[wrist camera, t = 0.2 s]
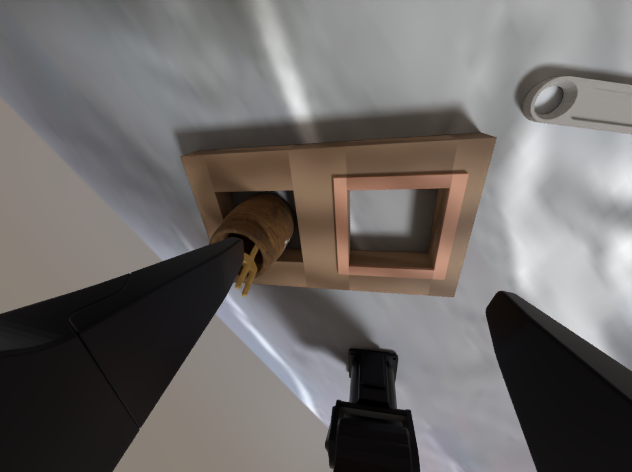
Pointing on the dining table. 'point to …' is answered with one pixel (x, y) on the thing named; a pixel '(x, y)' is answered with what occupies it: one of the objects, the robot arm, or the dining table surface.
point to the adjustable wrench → (585, 104)
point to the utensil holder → (258, 233)
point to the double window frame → (334, 205)
